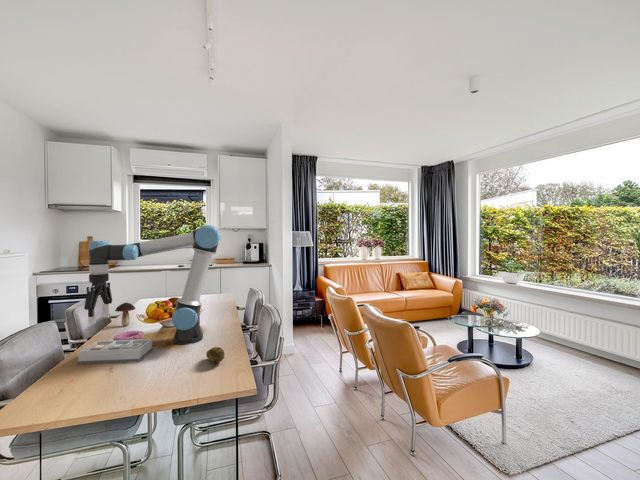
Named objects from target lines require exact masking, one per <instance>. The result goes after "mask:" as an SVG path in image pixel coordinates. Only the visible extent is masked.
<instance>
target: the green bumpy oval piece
mask: <svg viewBox="0 0 640 480" xmlns="http://www.w3.org/2000/svg"><path fill="white" fill-rule="evenodd" d="M206 351H207V352H206V354H205V355H206V358H207V359H208V360H209V361H210V362H212V363H214V364H215V363H216V364H217V363H220V362H222V361H223V360H224V359H225V354H226V353H225V351H224V349H223V348H222V347H221V346H220V347H219V346H213V347H211V348H210V349H208V350H206Z"/></svg>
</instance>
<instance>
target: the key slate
mask: <svg viewBox="0 0 640 480" xmlns="http://www.w3.org/2000/svg"><path fill="white" fill-rule="evenodd" d="M124 345H125V344H114V345H113V346H111V347H110V348H109V350H116V349H120V348H121V347H123V346H124Z"/></svg>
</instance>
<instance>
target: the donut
mask: <svg viewBox="0 0 640 480" xmlns="http://www.w3.org/2000/svg"><path fill="white" fill-rule="evenodd" d="M144 332H145V331H141V330H129V331H124V332H121V333H119V334H116V335H115V336H114V337H113V339H112V340H142V339H145V333H144Z"/></svg>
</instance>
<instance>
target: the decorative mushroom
mask: <svg viewBox="0 0 640 480" xmlns="http://www.w3.org/2000/svg"><path fill="white" fill-rule="evenodd" d="M135 310H136V307H135V306H134V305H133V304H132V303H129V302H124V303H122V304H119V305H118V306H117V307H116V309H115V310H114V311H115V312H122V315H121V325H122V327H128V326H129V325H130V314H129V312H130V311H135Z"/></svg>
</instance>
